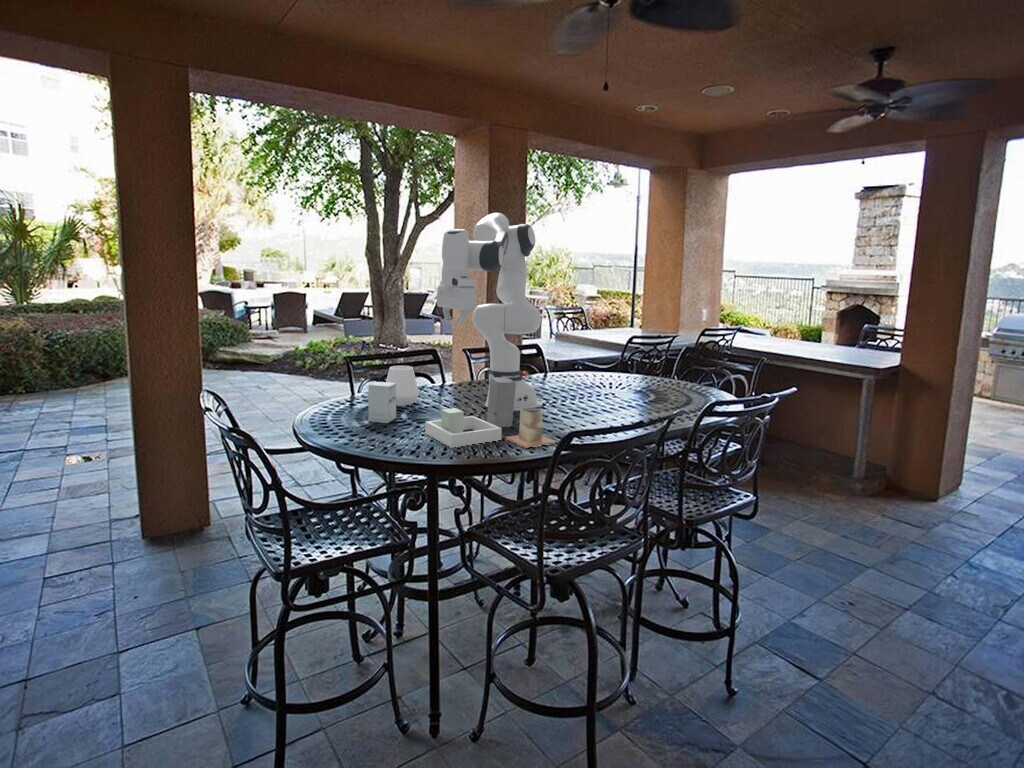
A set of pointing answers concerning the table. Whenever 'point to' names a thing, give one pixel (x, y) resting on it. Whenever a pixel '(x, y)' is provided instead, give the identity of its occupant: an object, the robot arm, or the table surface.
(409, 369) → the cup
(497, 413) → the skincare box
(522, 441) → the tile
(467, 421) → the bin
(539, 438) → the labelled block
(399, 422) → the table surface
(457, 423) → the plain block
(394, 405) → the supplement box
